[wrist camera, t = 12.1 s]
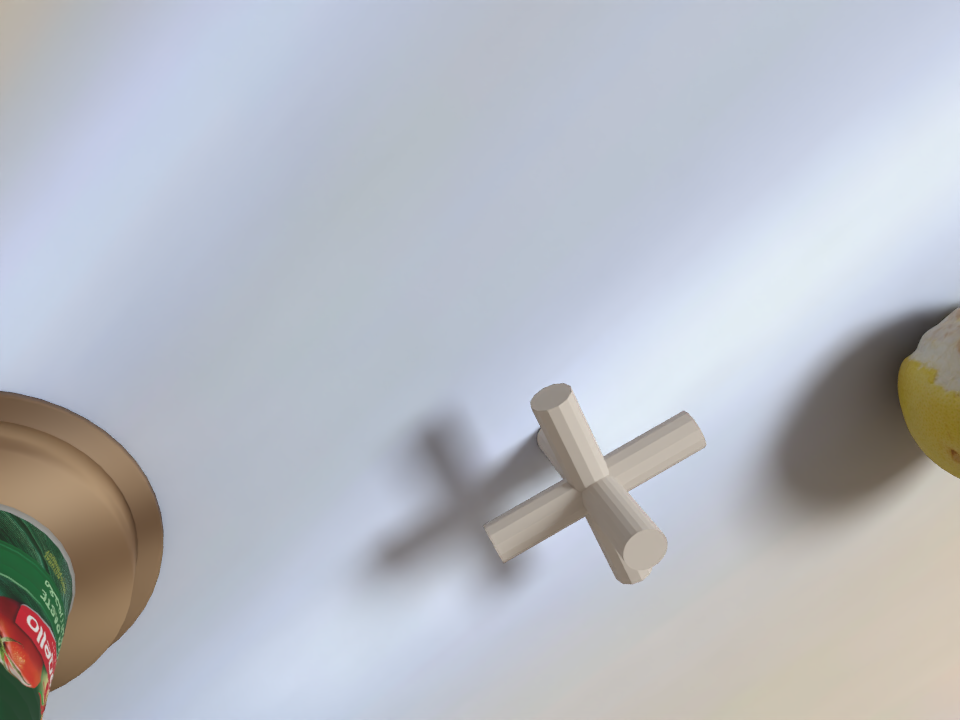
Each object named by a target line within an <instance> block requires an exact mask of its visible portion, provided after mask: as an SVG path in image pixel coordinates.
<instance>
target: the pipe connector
mask: <svg viewBox="0 0 960 720" xmlns="http://www.w3.org/2000/svg"><path fill="white" fill-rule="evenodd" d="M530 403H531V408H532V410H533V413H534V415H535V417H536V419H537V421H538V423H539V425H540V427H541V428H540V430H539V432H538V435H537V443H538V446H539V447H540V448H541V450H542V451H543V453H544V454H545V455H546V457H547V458H548V459H549V461H550V462H551V463H552V465H553V466H554V467H555V469H556V470H557V471H558V473H559V474H560V475H561V477H562V478H563V480H561V481H560V482H558V483H556V484H554V485H553V486H551V487H549V488H547V489H546V490H544V491H542V492H540V493H539V494H537V495H535V496H533V497H532V498H530V499H528V500H526V501H525V502H523V503H521V504H519V505H518V506H516V507H514V508H512V509H511V510H509V511H507V512H505V513H504V514H502V515H500V516H498V517H497V518H495V519H493V520H491V521H490V522H488V523H486V524H484V525H483V527H484V529H485V531H486V533H487V534H488V536H489V538H490V540H491V542H492V544H493V546H494V547H495V549H496V551H497V553H498V554H499V556H500V558H501V560H502V561H503V563H505V562H507V561H508V560H510V559H512V558H514V557H515V556H517V555H519V554H521V553H522V552H524V551H526V550H528V549H529V548H531V547H533V546H535V545H536V544H538V543H540V542H541V541H543V540H545V539H547V538H548V537H550V536H552V535H554V534H555V533H557V532H559V531H561V530H562V529H564V528H566V527H567V526H569V525H571V524H573V523H574V522H576V521H578V520H580V519H581V518H583V517H586V519H587V521H588V523H589V525H590V527H591V529H592V531H593V533H594V535H595V537H596V539H597V541H598V543H599V545H600V547H601V549H602V551H603V553H604V555H605V557H606V559H607V561H608V563H609V565H610V567H611V569H612V571H613V573H614V575H615V577H616V579H617V580H618V581H620V582H621V583H623V584H634V583H637V582H640V581H643V580H644V579H645V578H646V577H647V576H648V575H649V574H650V572H651V570H652V567H653V566H655V565H656V564H658V563H659V562H660V561H661V559H662V558H663V557H664V555H665V553H666V550H667V539H666V537H665V535H664V534H663V533H662V532H661V530H660V529H659V528H658V527H657V526H656V525H655V523H654V522H653V521H652V520H651V519H650V518H649V516H648V515H647V514H646V513H645V512H644V511H643V509H642V508H641V507H640V506H639V505H638V504H637V502H636V501H635V500H634V499H633V498H632V497H631V495H630V494H629V493H628V491H630V490H632V489H633V488H635V487H637V486H639V485H640V484H642V483H644V482H646V481H647V480H649V479H651V478H653V477H654V476H656V475H658V474H659V473H661V472H663V471H665V470H666V469H668V468H670V467H672V466H673V465H675V464H677V463H679V462H680V461H682V460H684V459H686V458H687V457H689V456H691V455H692V454H694V453H696V452H698V451H699V450H701V449H703V448H705V446H706V442H705V438H704V436H703V434H702V432H701V430H700V428H699V427H698V425H697V424H696V422H695V421H694V419H693V418H692V417H691V416H690V415H689V414H688V413H687V412H685V411H682V412H680V413H679V414H677V415H675V416H673V417H672V418H670V419H668V420H666V421H665V422H663V423H661V424H659V425H658V426H656V427H654V428H652V429H651V430H649V431H647V432H645V433H644V434H642V435H640V436H638V437H637V438H635V439H633V440H631V441H630V442H628V443H626V444H624V445H623V446H621V447H619V448H617V449H616V450H614V451H612V452H610V453H609V454H607V455H605V456H603V455H602V453H601V451H600V449H599V447H598V445H597V442H596V440H595V438H594V436H593V434H592V432H591V429H590V427H589V425H588V423H587V421H586V419H585V417H584V414H583V412H582V410H581V408H580V406H579V404H578V402H577V399H576V397H575V395H574V393H573V391H572V389H571V387H570V386H569V385H567V384H564V383H560V384H553V385H550V386H548V387H545V388H543V389H542V390H540V391H539V392H538V393H536V394H535V395H534V397H533V398H532V400H531V402H530Z"/></svg>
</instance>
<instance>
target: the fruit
mask: <svg viewBox="0 0 960 720" xmlns="http://www.w3.org/2000/svg"><path fill="white" fill-rule="evenodd" d="M898 395H899V401H900V406H901V409H902V413H903V416H904V419H905V422H906V425H907V427H908V430H909V432H910V434H911V435H912V437H913V439H914V440H915V441H916V443H917V444H918V446H919V447H920V449H921V450H922V451H923V452H924V453H925V454H926V455H927V456H928V457H929V458H930V459H931V460H932V461H933V462H934V463H936V464H937V465H938V466H939V467H941V468H942V469H944V470H945V471H947V472H949V473H950V474H952V475H953V476H955V477H957V478H960V307H959V308H957V309H955V310H954V311H953V312H952V313H950V314H949V315H948V316H947V317H946V318H944V319H943V320H942V321H941V322H940V323H939V324H938V325H936V326H934V327H933V328H931V329H930V330H928V331H927V332H926V333H925V334H924V335H923V336H922V338H921V339H920V341H919V344H918V347H917V349H916V350H915V351H914V352H913V353H912V354H911V355H909V356H908V357H906V358H905V359H904V360H903V362H902V363H901V366H900V369H899V373H898Z"/></svg>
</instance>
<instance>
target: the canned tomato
mask: <svg viewBox="0 0 960 720" xmlns="http://www.w3.org/2000/svg"><path fill="white" fill-rule="evenodd" d="M74 597H75V573H74V570H73V567H72V563H71V560H70V557H69V556H68V554H67V552H66V550H65V549H64V547H63V545H62V543H61V542H60V541H59V540H58V539H57V538H56V537H55V536H54V534H53V533H52V532H51V531H50V530H49V529H48V528H47V527H45V526H44V525H42V524H41V523H40V522H38V521H37V520H36V519H34V518H33V517H31V516H29V515H27V514H25V513H23V512H21V511H19V510H17V509H15V508H13V507H9V506H6V505H3V504H0V720H42V717H43V712H44V710H45V706H46V701H47V697H48V695H49V691H50V686H51V682H52V679H53V675H54V671H55V666H56V664H57V660H58V655H59V651H60V649H61V644H62V640H63V637H64V633H65V628H66V624H67V619H68V616H69V614H70V612H71V610H72V605H73V601H74Z"/></svg>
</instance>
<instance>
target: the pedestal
mask: <svg viewBox="0 0 960 720" xmlns="http://www.w3.org/2000/svg"><path fill="white" fill-rule="evenodd" d="M0 504H3V505H6V506H9V507H13V508H15V509H17V510H19V511H21V512H23V513H25V514H27V515H29V516H31V517H33V518H34V519H36V520H37V521H38V522H40V523H41V524H42V525H44V526H45V527H47V528H48V529H49V530H50V531H51V532H52V533H53V534H54V536H55V537H56V538H57V539H58V540H59V541H60V542H61V543H62V545H63V547H64V549H65V550H66V552H67V554H68V556H69V557H70V560H71V563H72V567H73V570H74V573H75V597H74V601H73V605H72V610H71V612H70V614H69V616H68V619H67V624H66V628H65V633H64V637H63V640H62V644H61V649H60V651H59V655H58V660H57V664H56V666H55V671H54V675H53V679H52V682H51V686H50V691H49V692H51V691H53V690H55V689H57V688H59V687H61V686H63V685H65V684H66V683H68V682H69V681H71V680H72V679H74V678H76V677H77V676H79V675H80V674H81V673H83V672H84V671H85V670H86V669H87V668H89V667H90V666H91V665H92V664H93V663H95V661H96V660H97V659H98V658H99V657H100V656H101V655H102V654H103V653H104V652H105V651H106V650H107V648H108V647H110V646H111V645H112V644H113V643H115V642H116V641H117V640H118V639H119V638H120V637H121V636H122V635H123V634H124V633H125V632H126V631H127V630H128V629H129V628H130V627H131V626H132V625H133V623H134V622H135V621H136V619H137V618H138V616H139V615H140V614H141V612H142V611H143V610H144V608H145V606H146V604H147V602H148V600H149V598H150V597H151V595H152V593H153V590H154V587H155V585H156V582H157V579H158V576H159V572H160V566H161V561H162V554H163V524H162V517H161V512H160V508H159V505H158V502H157V499H156V495H155V493H154V491H153V489H152V487H151V485H150V483H149V481H148V479H147V477H146V475H145V474H144V472H143V471H142V469H141V468H140V467H139V465H138V464H137V462H136V461H135V460H134V458H133V457H132V456H131V455H130V454H129V453H128V452H127V451H126V450H125V449H124V447H123V446H122V445H121V444H120V443H118V442H117V441H116V440H115V439H114V438H112V437H111V436H110V435H109V434H108V433H107V432H105V431H104V430H103V429H101V428H100V427H98V426H96V425H95V424H93V423H92V422H90V421H89V420H87V419H86V418H84V417H82V416H80V415H78V414H76V413H74V412H72V411H70V410H68V409H66V408H64V407H61V406H58V405H55V404H53V403H50V402H47V401H44V400H42V399H38V398H34V397H30V396H26V395H22V394H17V393H12V392H4V391H0Z"/></svg>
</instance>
